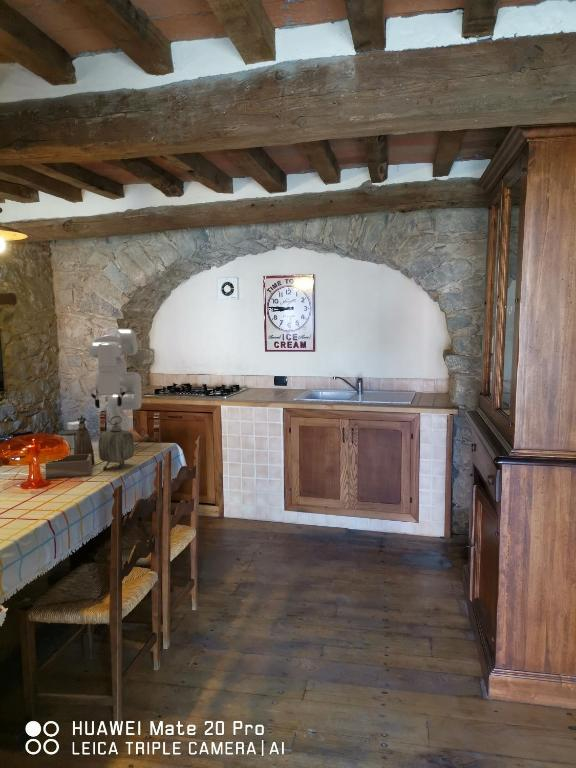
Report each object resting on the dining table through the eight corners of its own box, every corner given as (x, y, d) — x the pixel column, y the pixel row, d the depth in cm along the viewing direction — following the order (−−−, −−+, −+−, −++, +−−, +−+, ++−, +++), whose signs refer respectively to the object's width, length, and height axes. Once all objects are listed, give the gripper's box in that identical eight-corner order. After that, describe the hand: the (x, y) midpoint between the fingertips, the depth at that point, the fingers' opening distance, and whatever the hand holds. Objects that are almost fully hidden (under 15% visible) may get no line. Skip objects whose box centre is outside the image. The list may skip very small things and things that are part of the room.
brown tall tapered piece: (78, 468, 248) (75, 416, 246) (72, 466, 253) (69, 414, 251) (96, 465, 253) (93, 414, 252) (89, 463, 259) (87, 413, 257)
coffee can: (60, 457, 269) (58, 430, 268) (81, 455, 273) (80, 428, 271) (58, 461, 260) (57, 434, 258) (81, 460, 263) (79, 432, 262)
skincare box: (82, 447, 289) (81, 420, 288) (88, 449, 285) (87, 421, 284) (68, 450, 283) (66, 422, 281) (74, 452, 279) (73, 423, 277)
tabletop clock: (123, 463, 257) (121, 413, 255) (136, 465, 253) (134, 414, 250) (99, 470, 245) (97, 417, 242) (112, 472, 240) (110, 419, 238)
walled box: (51, 470, 244) (50, 456, 243) (92, 467, 249) (91, 453, 248) (46, 479, 230) (45, 463, 230) (89, 476, 235) (88, 460, 235)
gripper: (123, 368, 246) (124, 404, 248) (85, 370, 236) (87, 407, 238) (128, 369, 240) (129, 406, 242) (89, 371, 230) (91, 409, 232)
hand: (108, 406), depth 240 cm, fingers open, 9 cm apart
